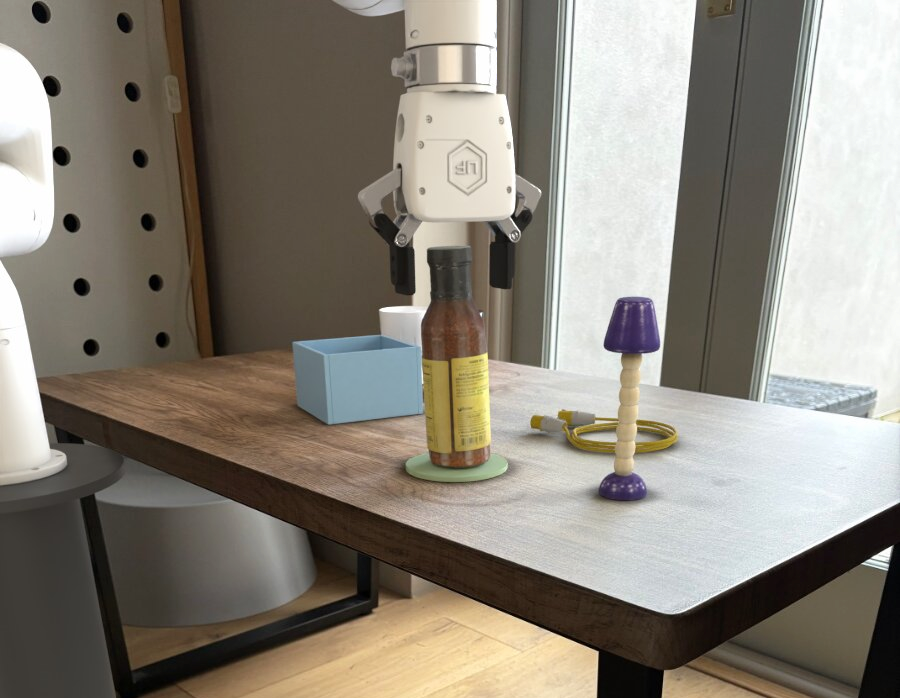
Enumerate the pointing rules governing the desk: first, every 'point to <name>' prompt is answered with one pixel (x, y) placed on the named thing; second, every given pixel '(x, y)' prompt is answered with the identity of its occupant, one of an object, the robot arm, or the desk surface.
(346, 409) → the case
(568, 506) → the desk surface
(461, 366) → the sauce bottle
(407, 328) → the white cup
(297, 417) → the desk surface
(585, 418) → the extension cord
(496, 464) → the mat
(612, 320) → the toy lamp
